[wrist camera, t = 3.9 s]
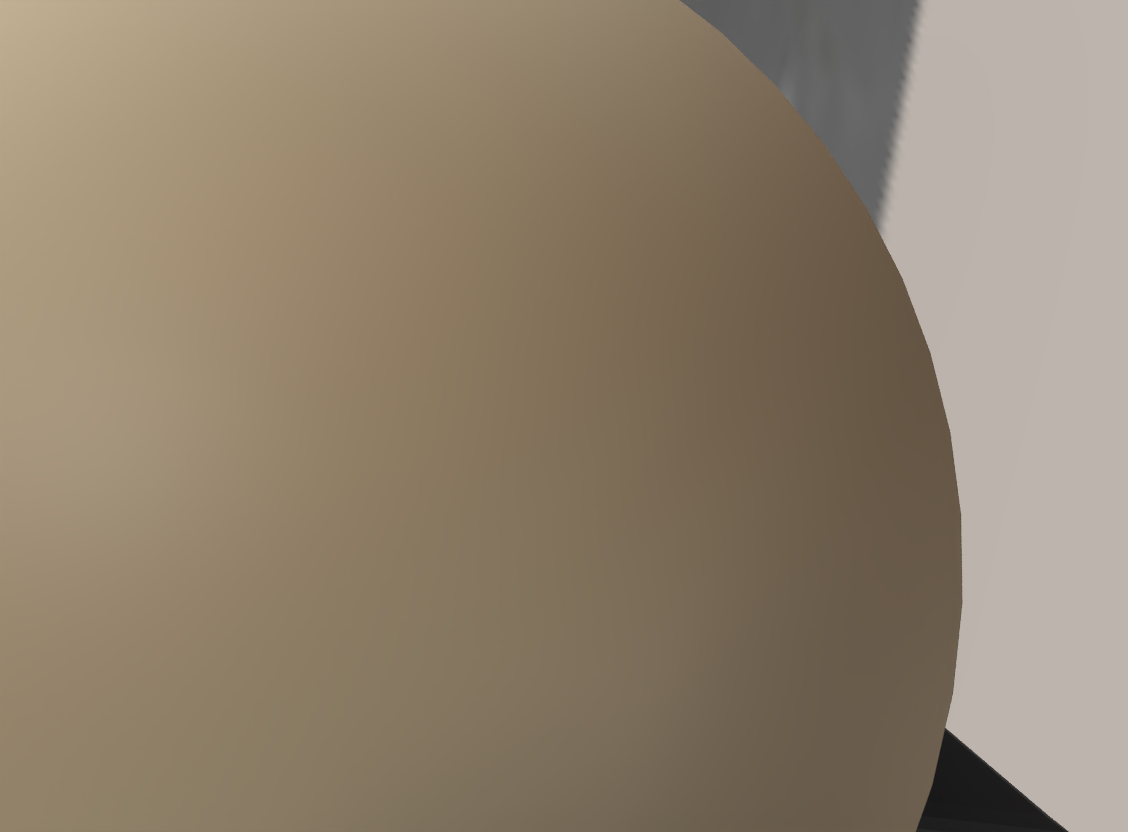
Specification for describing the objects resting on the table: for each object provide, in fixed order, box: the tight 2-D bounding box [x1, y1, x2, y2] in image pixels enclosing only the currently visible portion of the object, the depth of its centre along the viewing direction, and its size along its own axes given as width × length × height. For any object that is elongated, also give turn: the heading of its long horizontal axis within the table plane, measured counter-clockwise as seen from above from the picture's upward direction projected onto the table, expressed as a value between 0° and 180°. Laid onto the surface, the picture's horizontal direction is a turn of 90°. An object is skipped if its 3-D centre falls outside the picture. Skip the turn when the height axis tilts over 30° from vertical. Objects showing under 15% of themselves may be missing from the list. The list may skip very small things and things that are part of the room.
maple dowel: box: [0, 0, 962, 832], centre depth 9 cm, size 5×5×13 cm
